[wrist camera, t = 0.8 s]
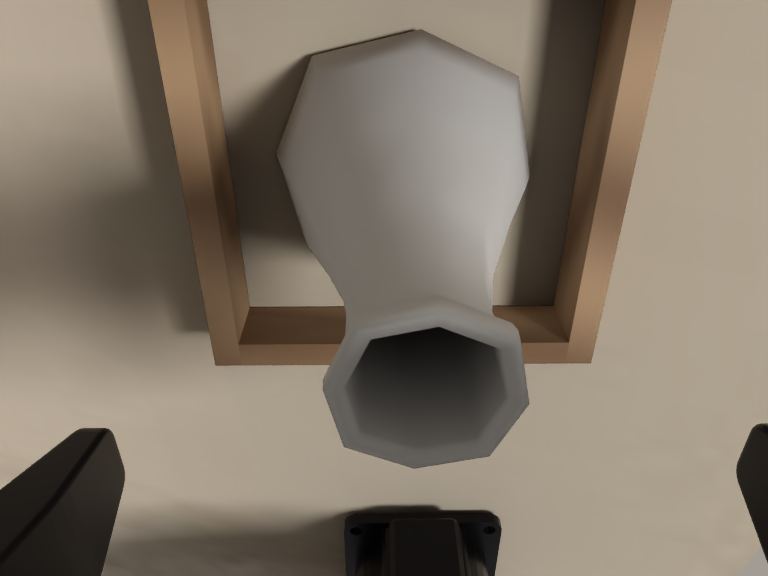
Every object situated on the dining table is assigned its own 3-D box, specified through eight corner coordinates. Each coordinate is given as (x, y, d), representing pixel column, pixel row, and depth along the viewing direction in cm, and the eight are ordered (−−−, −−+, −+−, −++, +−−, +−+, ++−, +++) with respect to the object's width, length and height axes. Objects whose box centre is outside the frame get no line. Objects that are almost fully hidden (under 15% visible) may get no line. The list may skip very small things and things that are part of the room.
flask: (276, 259, 20) (200, 535, 11) (279, 12, 16) (165, 148, 7) (503, 278, 20) (593, 556, 12) (558, 41, 16) (752, 202, 8)
